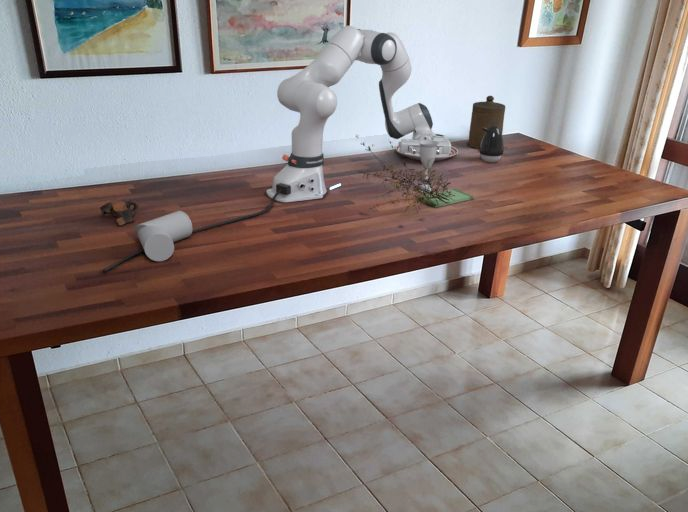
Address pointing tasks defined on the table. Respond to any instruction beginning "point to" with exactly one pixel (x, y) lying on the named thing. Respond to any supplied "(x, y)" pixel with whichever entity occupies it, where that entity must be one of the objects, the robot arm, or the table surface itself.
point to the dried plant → (413, 185)
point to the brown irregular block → (120, 210)
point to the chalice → (427, 157)
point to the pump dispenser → (491, 144)
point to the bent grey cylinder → (163, 234)
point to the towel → (458, 197)
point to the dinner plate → (437, 158)
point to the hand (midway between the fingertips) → (426, 152)
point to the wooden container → (485, 119)
